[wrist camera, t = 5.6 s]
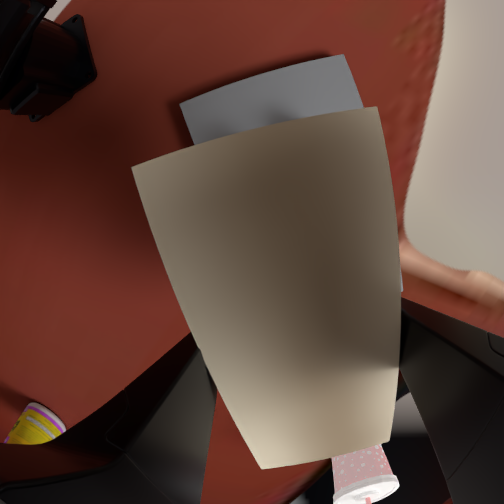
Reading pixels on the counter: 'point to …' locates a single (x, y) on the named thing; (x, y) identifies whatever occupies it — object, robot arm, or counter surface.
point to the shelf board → (288, 278)
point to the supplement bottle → (35, 426)
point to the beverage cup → (362, 476)
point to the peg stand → (273, 99)
